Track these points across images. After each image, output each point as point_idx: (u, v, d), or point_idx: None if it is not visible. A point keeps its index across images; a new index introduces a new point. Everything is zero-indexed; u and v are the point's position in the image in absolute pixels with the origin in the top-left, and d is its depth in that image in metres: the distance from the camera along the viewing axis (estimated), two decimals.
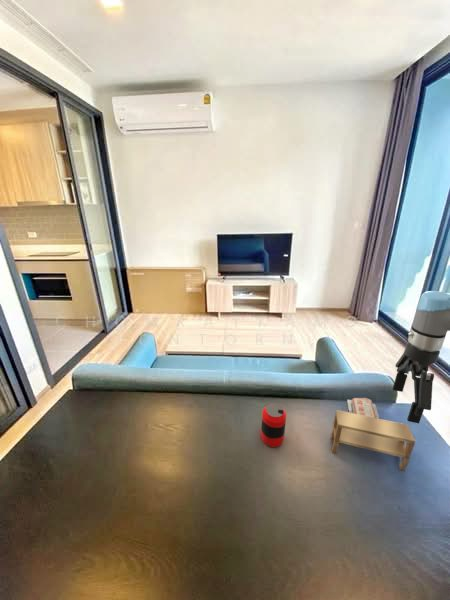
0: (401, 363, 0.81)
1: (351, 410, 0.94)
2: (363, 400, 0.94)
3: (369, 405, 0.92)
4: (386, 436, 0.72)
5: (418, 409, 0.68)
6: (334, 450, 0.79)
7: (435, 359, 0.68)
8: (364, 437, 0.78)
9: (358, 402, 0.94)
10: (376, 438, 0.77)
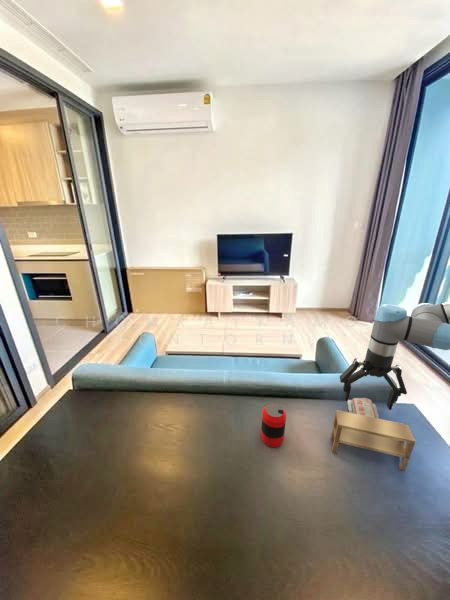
0: None
1: (351, 410, 0.94)
2: (363, 400, 0.94)
3: (369, 405, 0.92)
4: (386, 436, 0.72)
5: (344, 383, 0.89)
6: (334, 450, 0.79)
7: (370, 359, 0.80)
8: (364, 437, 0.78)
9: (358, 402, 0.94)
10: (376, 438, 0.77)
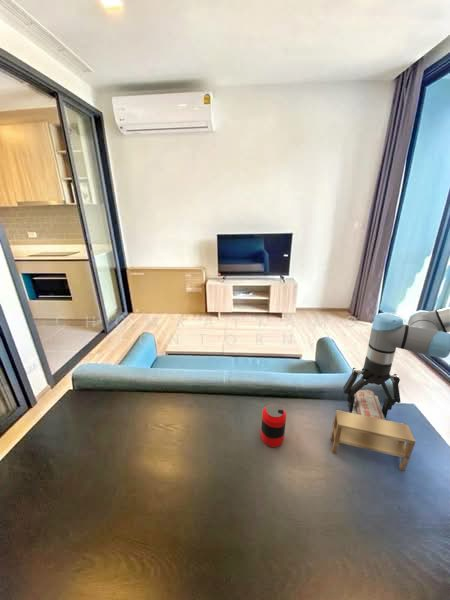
0: (393, 391, 0.85)
1: None
2: (365, 392, 0.93)
3: (371, 396, 0.90)
4: (386, 436, 0.72)
5: (348, 394, 0.90)
6: (334, 450, 0.79)
7: (369, 367, 0.81)
8: (364, 437, 0.78)
9: (360, 394, 0.92)
10: (376, 438, 0.77)
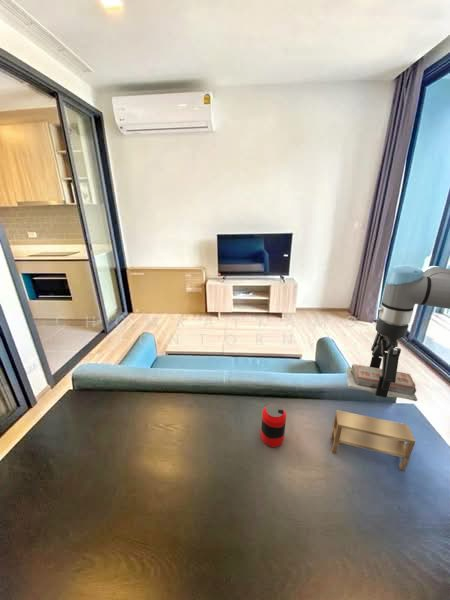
0: (376, 345, 0.81)
1: (371, 388, 0.76)
2: (360, 369, 0.79)
3: (366, 367, 0.80)
4: (386, 436, 0.72)
5: (384, 382, 0.71)
6: (334, 450, 0.79)
7: (403, 333, 0.69)
8: (364, 437, 0.78)
9: (366, 374, 0.77)
10: (376, 438, 0.77)
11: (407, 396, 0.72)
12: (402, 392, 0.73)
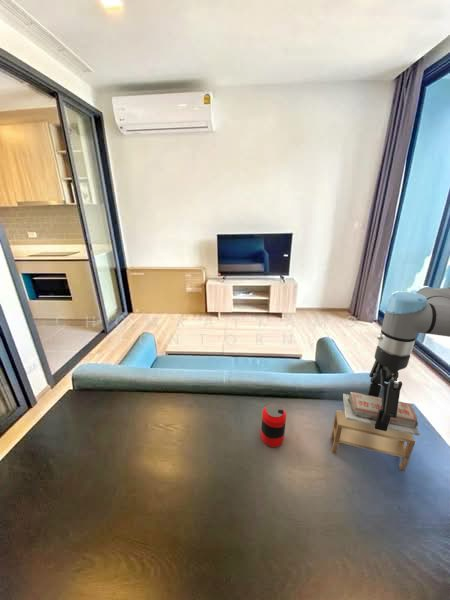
0: (374, 372, 0.76)
1: (369, 420, 0.70)
2: (357, 398, 0.74)
3: (365, 396, 0.74)
4: (386, 436, 0.72)
5: (384, 416, 0.66)
6: (334, 450, 0.79)
7: (405, 364, 0.63)
8: (364, 437, 0.78)
9: (364, 405, 0.72)
10: (376, 438, 0.77)
11: (408, 430, 0.67)
12: (403, 425, 0.68)
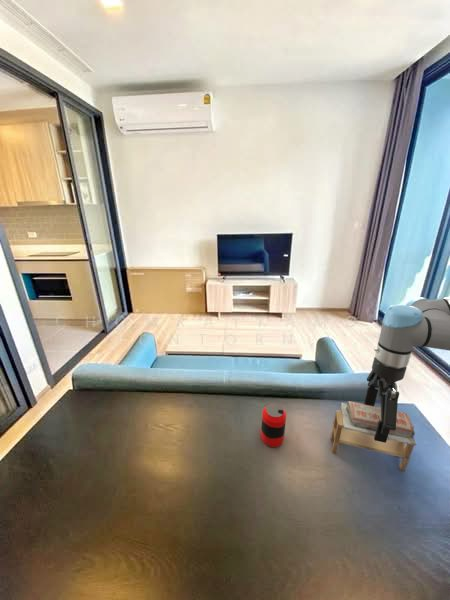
0: (372, 377, 0.78)
1: (367, 429, 0.71)
2: (355, 408, 0.75)
3: (363, 406, 0.75)
4: None
5: (384, 428, 0.65)
6: (334, 450, 0.79)
7: (401, 376, 0.65)
8: (364, 437, 0.78)
9: (362, 414, 0.73)
10: None
11: (405, 440, 0.68)
12: (400, 435, 0.69)
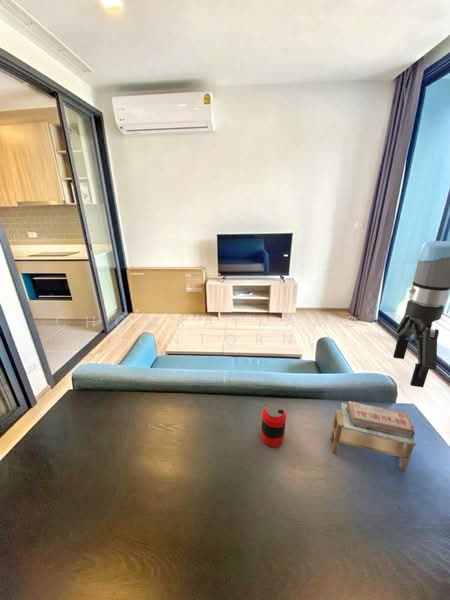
0: (402, 327, 0.76)
1: (367, 429, 0.71)
2: (355, 408, 0.75)
3: (363, 406, 0.75)
4: None
5: (422, 370, 0.63)
6: (334, 450, 0.79)
7: (439, 315, 0.62)
8: (364, 437, 0.78)
9: (362, 414, 0.73)
10: (376, 438, 0.77)
11: (405, 440, 0.68)
12: (400, 435, 0.69)
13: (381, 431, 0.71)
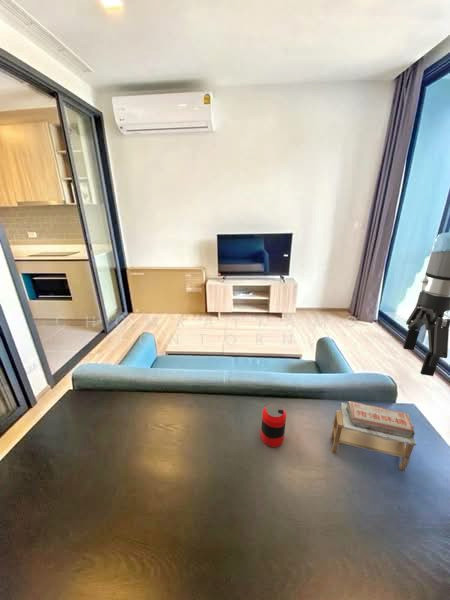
0: (412, 319, 0.77)
1: (367, 429, 0.71)
2: (355, 408, 0.75)
3: (363, 406, 0.75)
4: None
5: (433, 359, 0.64)
6: (334, 450, 0.79)
7: None
8: (364, 437, 0.78)
9: (362, 414, 0.73)
10: (376, 438, 0.77)
11: (405, 440, 0.68)
12: (400, 435, 0.69)
13: (381, 431, 0.71)
